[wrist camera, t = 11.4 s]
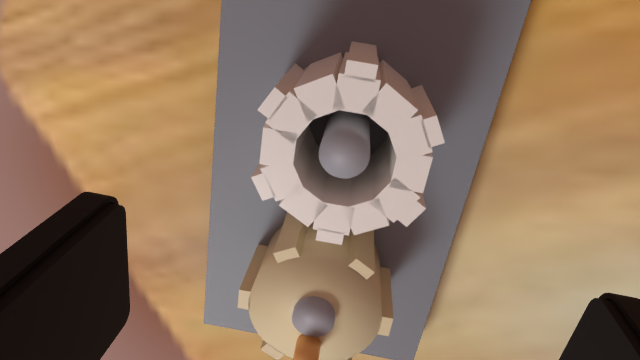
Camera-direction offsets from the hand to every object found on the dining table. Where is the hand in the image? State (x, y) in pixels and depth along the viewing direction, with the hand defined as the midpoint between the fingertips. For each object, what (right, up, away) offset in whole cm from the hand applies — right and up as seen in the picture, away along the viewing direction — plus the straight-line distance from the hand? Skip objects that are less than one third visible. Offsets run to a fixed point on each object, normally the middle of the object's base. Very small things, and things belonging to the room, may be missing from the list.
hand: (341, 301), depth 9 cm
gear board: (+1, +3, +16) cm, 16 cm away
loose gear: (+1, +5, +12) cm, 14 cm away
